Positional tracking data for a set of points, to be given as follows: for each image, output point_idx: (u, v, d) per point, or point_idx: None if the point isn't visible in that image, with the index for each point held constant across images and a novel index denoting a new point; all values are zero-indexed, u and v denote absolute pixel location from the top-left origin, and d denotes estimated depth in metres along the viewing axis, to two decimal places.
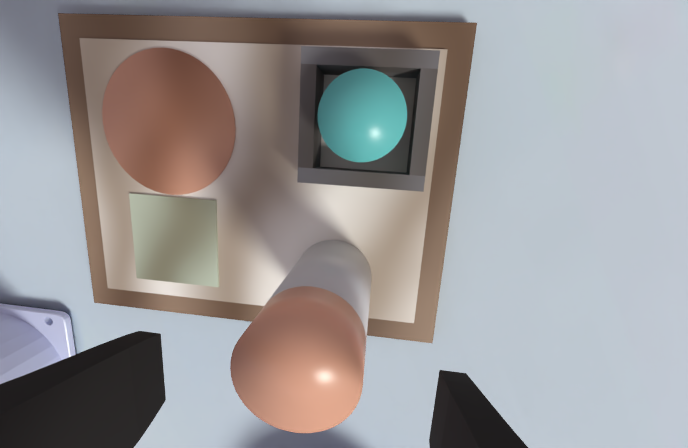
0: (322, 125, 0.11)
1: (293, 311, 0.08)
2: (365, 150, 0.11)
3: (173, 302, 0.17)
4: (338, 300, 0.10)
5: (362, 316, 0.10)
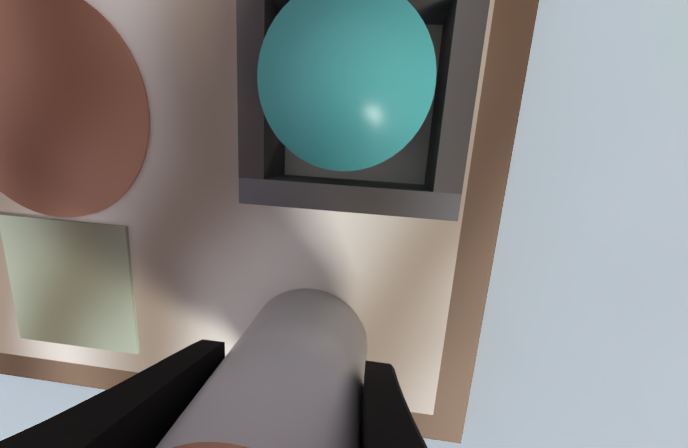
0: (267, 98, 0.06)
1: None
2: (352, 148, 0.06)
3: (77, 372, 0.11)
4: None
5: None
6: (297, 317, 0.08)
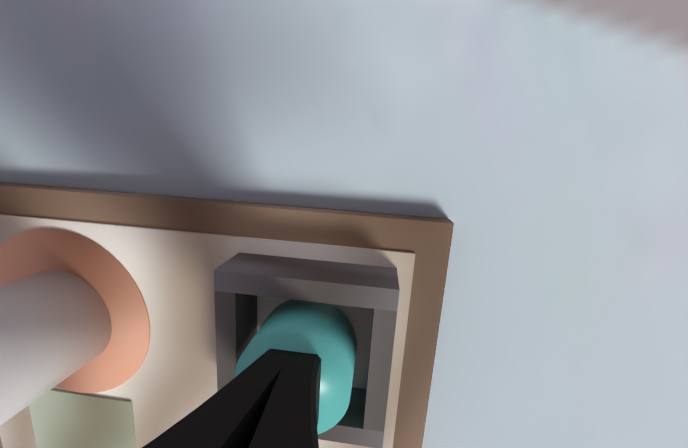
0: None
1: None
2: None
3: None
4: None
5: None
6: (0, 290, 0.09)
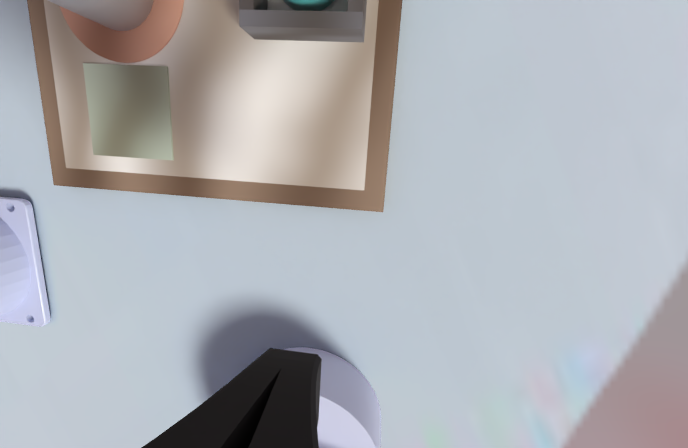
0: None
1: None
2: None
3: (130, 181, 0.17)
4: None
5: None
6: None
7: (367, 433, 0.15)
